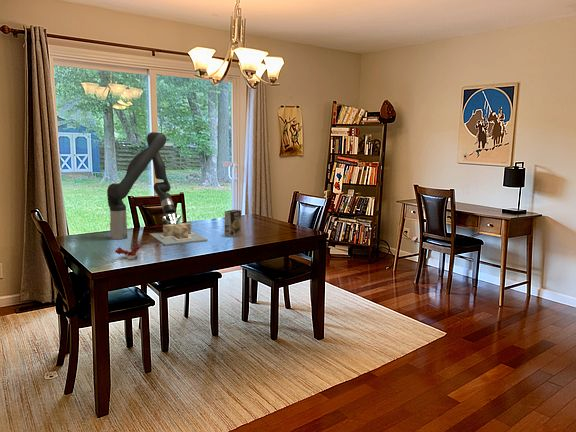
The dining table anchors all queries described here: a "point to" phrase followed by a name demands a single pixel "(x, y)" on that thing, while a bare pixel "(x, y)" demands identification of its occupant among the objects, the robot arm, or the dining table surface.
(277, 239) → the dining table surface
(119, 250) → the figurine
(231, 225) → the coffee box
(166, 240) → the board
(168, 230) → the t block
